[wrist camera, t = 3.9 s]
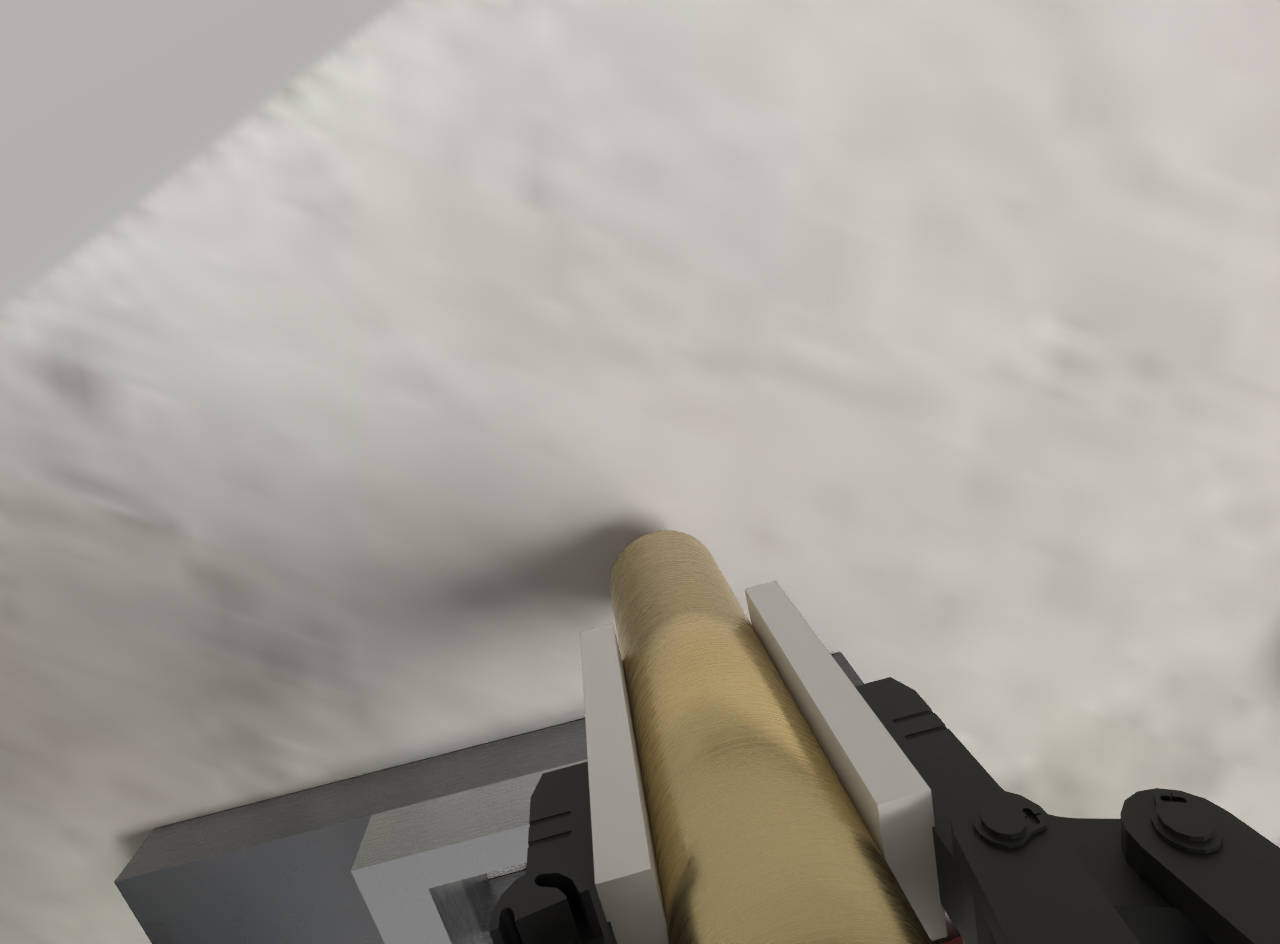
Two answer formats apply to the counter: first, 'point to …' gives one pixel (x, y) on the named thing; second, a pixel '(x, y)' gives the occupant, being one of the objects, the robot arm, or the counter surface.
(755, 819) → the brass knob
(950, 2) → the counter surface
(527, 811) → the plate with square socket
